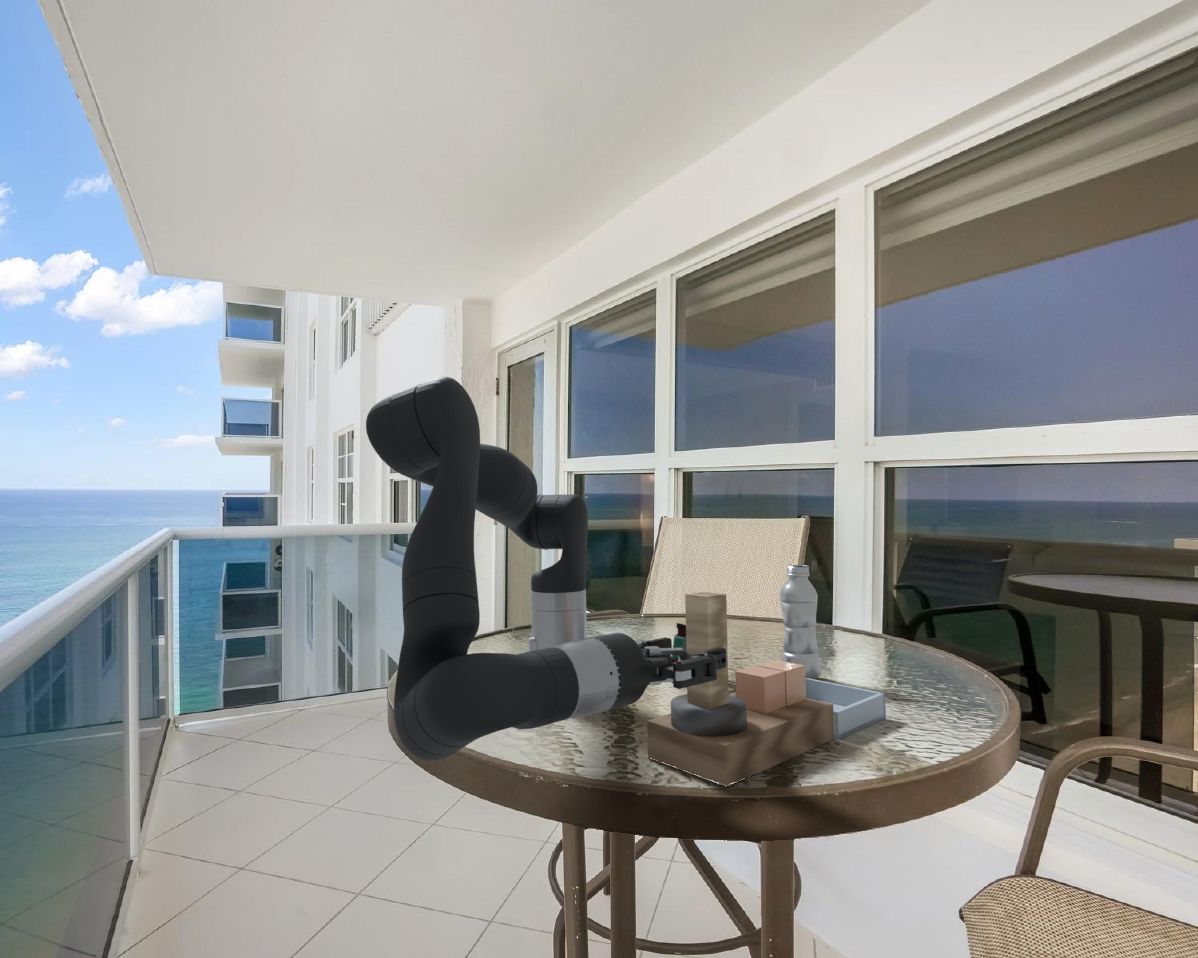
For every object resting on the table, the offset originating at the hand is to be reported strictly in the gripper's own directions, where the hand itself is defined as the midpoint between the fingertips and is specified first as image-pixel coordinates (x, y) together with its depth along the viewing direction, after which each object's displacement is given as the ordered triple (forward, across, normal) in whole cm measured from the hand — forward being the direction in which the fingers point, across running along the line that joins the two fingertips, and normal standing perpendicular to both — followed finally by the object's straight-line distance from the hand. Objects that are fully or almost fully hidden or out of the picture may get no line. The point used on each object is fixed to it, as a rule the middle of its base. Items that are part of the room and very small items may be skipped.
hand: (695, 651), depth 79 cm
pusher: (+2, 0, +9) cm, 9 cm away
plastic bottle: (+44, +14, +14) cm, 48 cm away
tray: (+27, 0, +14) cm, 30 cm away
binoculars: (+30, +25, +14) cm, 42 cm away
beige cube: (+17, 0, +9) cm, 20 cm away
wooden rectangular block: (+9, 0, +14) cm, 16 cm away
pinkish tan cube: (+12, 0, +9) cm, 15 cm away
